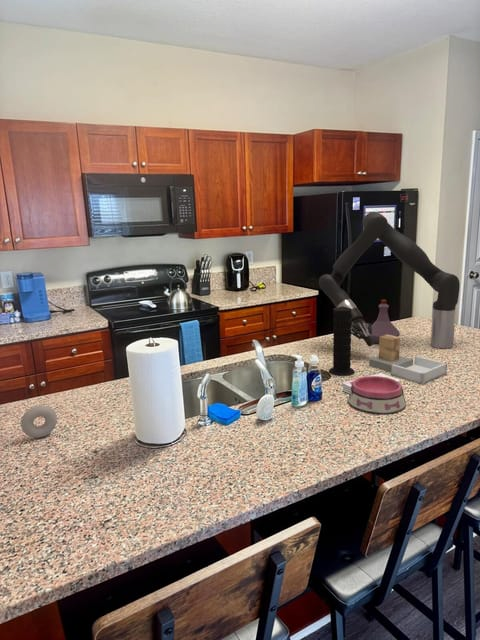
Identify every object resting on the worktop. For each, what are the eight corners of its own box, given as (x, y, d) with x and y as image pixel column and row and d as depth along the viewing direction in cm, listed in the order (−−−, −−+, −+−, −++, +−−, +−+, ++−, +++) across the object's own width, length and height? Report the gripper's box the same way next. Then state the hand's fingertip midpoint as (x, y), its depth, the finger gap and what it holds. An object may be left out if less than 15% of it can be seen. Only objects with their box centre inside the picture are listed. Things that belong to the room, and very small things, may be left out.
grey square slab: (387, 359, 187) (387, 352, 186) (412, 366, 177) (413, 359, 177) (369, 365, 180) (369, 358, 179) (394, 373, 170) (394, 366, 170)
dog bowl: (346, 391, 157) (346, 372, 155) (401, 392, 153) (402, 374, 152) (348, 413, 139) (348, 393, 138) (410, 416, 136) (411, 395, 134)
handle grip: (331, 376, 170) (357, 375, 170) (331, 309, 164) (358, 308, 164) (326, 367, 180) (351, 366, 180) (327, 304, 174) (352, 303, 173)
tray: (415, 365, 178) (416, 355, 177) (446, 373, 168) (447, 363, 167) (391, 374, 169) (391, 364, 168) (422, 384, 159) (422, 373, 158)
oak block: (386, 355, 182) (387, 334, 180) (399, 358, 178) (400, 337, 176) (378, 358, 180) (379, 336, 178) (391, 361, 175) (392, 339, 173)
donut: (24, 444, 129) (18, 412, 127) (22, 439, 132) (17, 408, 129) (60, 434, 134) (55, 403, 132) (58, 429, 137) (53, 399, 134)
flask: (359, 337, 220) (360, 298, 215) (391, 335, 222) (392, 296, 217) (372, 347, 204) (374, 304, 199) (406, 344, 206) (408, 302, 201)
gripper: (343, 309, 185) (366, 343, 178) (364, 304, 192) (387, 337, 186) (334, 319, 190) (356, 353, 184) (354, 314, 198) (376, 346, 191)
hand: (371, 345), depth 185 cm, fingers closed
